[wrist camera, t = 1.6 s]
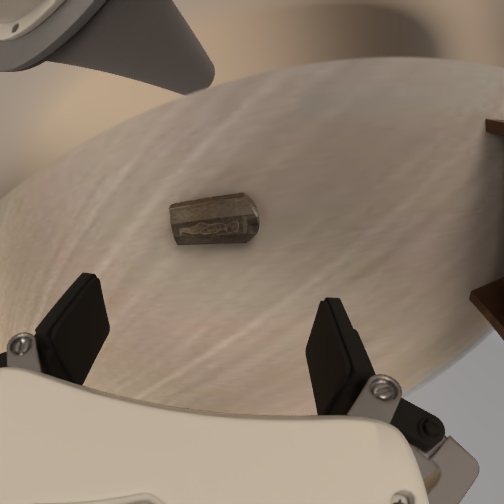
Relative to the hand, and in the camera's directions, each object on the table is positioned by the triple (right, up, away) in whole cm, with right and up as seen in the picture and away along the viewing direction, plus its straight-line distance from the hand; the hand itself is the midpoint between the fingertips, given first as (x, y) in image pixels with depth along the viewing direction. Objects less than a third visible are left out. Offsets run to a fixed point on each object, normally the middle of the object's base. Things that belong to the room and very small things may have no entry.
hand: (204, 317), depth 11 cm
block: (-1, +5, +9) cm, 10 cm away
